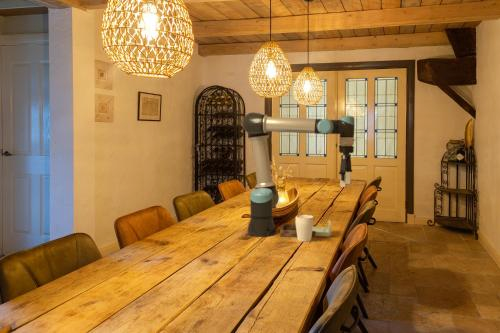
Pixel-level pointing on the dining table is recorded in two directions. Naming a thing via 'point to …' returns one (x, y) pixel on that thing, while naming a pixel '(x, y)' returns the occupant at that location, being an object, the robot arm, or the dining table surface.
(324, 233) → the tray
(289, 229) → the dock
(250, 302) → the dining table surface
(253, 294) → the dining table surface
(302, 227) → the cup
